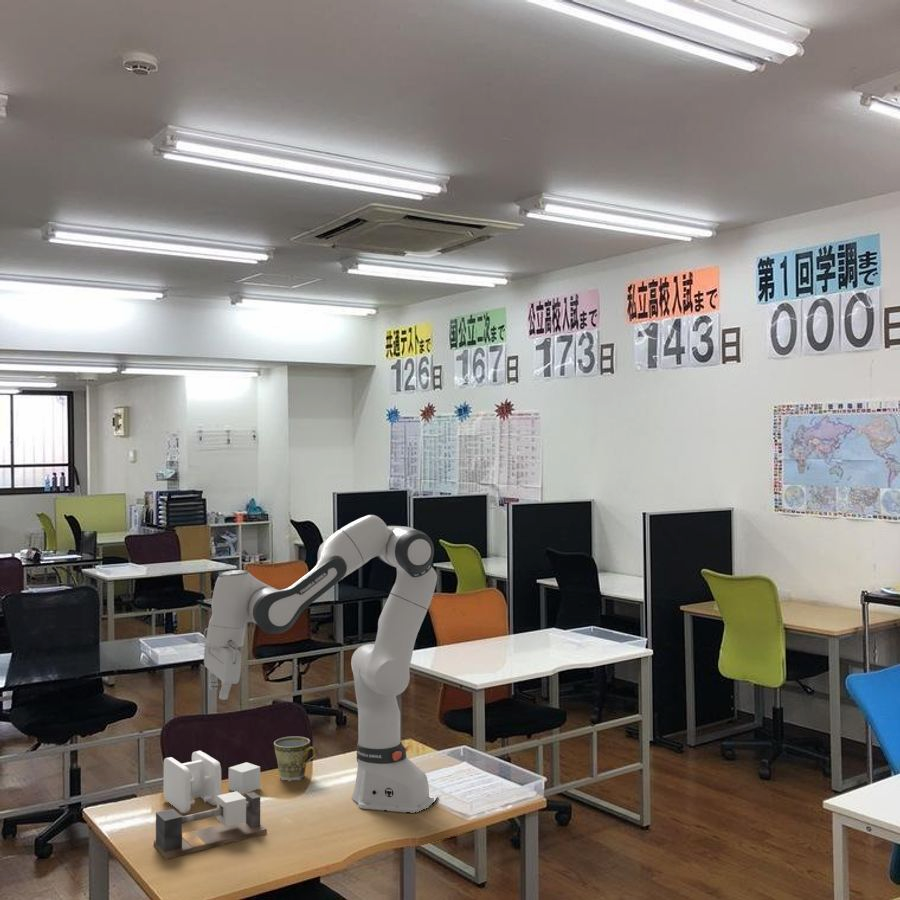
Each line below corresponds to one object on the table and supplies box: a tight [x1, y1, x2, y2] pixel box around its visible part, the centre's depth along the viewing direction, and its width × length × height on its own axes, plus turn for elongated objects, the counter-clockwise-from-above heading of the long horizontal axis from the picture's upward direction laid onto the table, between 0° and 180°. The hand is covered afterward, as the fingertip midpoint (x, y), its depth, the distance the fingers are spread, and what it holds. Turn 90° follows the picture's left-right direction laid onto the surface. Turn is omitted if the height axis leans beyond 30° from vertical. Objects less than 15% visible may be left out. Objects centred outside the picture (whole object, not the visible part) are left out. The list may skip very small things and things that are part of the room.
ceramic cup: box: [273, 736, 318, 781], centre depth 256 cm, size 13×10×10 cm
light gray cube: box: [228, 761, 261, 795], centre depth 248 cm, size 6×6×6 cm
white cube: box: [216, 791, 246, 827], centre depth 218 cm, size 5×6×6 cm
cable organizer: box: [163, 750, 222, 814], centre depth 238 cm, size 15×11×12 cm
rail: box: [153, 791, 268, 859], centre depth 215 cm, size 24×9×8 cm, turn 126°
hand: (218, 694), depth 222 cm, fingers open, 8 cm apart
